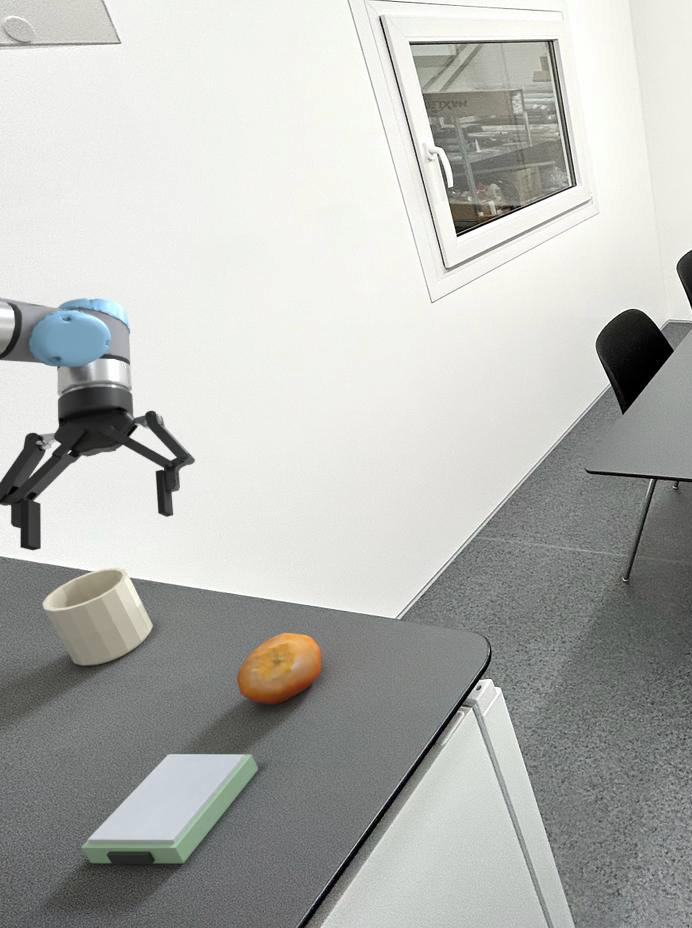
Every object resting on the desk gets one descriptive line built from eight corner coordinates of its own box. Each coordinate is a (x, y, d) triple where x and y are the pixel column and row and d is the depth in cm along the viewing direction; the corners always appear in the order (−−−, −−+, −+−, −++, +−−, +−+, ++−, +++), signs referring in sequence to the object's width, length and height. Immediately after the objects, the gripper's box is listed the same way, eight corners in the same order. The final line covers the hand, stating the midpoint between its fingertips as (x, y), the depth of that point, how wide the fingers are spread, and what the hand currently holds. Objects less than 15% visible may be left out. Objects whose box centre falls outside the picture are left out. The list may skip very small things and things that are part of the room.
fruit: (309, 635, 86) (304, 612, 81) (333, 685, 83) (329, 664, 78) (233, 675, 80) (223, 653, 75) (256, 729, 77) (247, 710, 72)
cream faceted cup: (65, 678, 81) (31, 619, 77) (86, 637, 87) (56, 581, 83) (145, 652, 85) (116, 595, 81) (160, 614, 91) (134, 560, 87)
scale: (87, 867, 61) (74, 847, 60) (177, 769, 70) (167, 750, 69) (180, 867, 61) (169, 848, 60) (258, 769, 70) (250, 751, 69)
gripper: (213, 384, 104) (225, 506, 97) (-11, 424, 91) (-13, 567, 85) (195, 367, 98) (206, 496, 91) (-47, 407, 85) (-54, 559, 79)
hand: (100, 530), depth 88 cm, fingers open, 13 cm apart
